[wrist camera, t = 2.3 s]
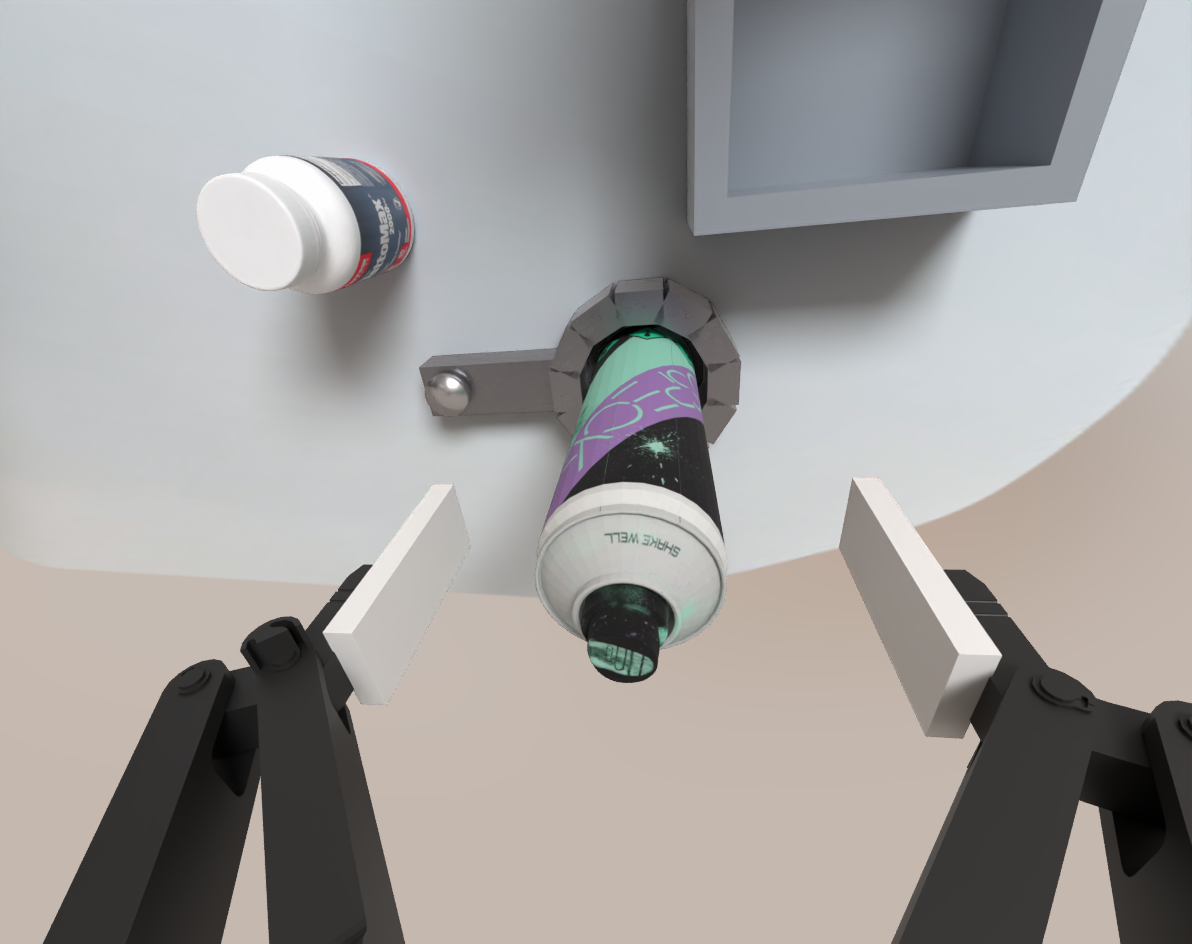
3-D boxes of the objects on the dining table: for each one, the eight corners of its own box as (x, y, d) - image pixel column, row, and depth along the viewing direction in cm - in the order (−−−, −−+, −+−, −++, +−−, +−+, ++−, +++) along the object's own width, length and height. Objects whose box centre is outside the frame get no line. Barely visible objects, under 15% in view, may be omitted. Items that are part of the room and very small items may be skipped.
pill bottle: (406, 287, 28) (311, 332, 20) (313, 245, 27) (180, 275, 20) (426, 187, 25) (326, 196, 17) (325, 138, 24) (174, 124, 17)
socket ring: (458, 450, 33) (441, 474, 30) (416, 296, 28) (392, 310, 25) (728, 441, 30) (735, 466, 28) (736, 271, 25) (745, 283, 23)
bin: (687, 221, 24) (694, 236, 19) (686, -191, 18) (697, -335, 13) (982, 193, 23) (1075, 201, 18) (1107, -279, 16) (1318, -490, 11)
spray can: (707, 390, 29) (775, 708, 12) (622, 425, 31) (577, 746, 14) (669, 303, 27) (688, 542, 10) (580, 346, 28) (463, 614, 11)
